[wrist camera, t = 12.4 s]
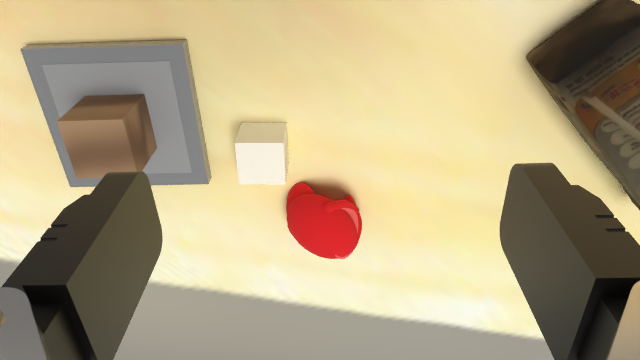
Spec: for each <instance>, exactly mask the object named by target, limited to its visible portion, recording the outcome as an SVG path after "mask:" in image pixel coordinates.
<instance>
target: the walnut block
mask: <svg viewBox="0 0 640 360" xmlns="http://www.w3.org/2000/svg"><path fill="white" fill-rule="evenodd" d="M57 124H58V127H59V129H60V132H61V135H62V138H63V141H64V144H65V146H66V149H67V152H68V155H69V158H70V161H71V163H72V166H73V169H74V172H75V175H76V178H103V177H104V176H105V174H107V173H108V172H139V171H143V169H144V167H145V166H146V164H147V163H148V161H149V160H150V158H151V156H152V155H153V153H154V152H155V150H156V149H157V144H156V140H155V136H154V132H153V128H152V124H151V119H150V115H149V111H148V107H147V103H146V99H145V95H144V94H129V95H96V96H84V97H83V98H82V99H81V100H80V101H79V102H78V103H77V104H75V105H74V106H73V107H72V108H71V109H70V110H69V111H68V112H66V113H65V114H64V115H63V116H62V117H61V118H60V119H59V120H58V121H57Z"/></svg>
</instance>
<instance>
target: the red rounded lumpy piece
mask: <svg viewBox="0 0 640 360" xmlns="http://www.w3.org/2000/svg"><path fill="white" fill-rule="evenodd" d="M345 199H346V200H336V201H333V200H332V199H330V198H327V197H325V196H322V195H318V194H315V193H314V191H313V190H312V189H311V188H310V187H309V186H308V185H307V184H304V183H298V184H296V185H294V186H293V187H292V189H291V190H290V192H289V194H288V198H287V204H286V211H287V223H288V228H289V231H290V233H291V234H292V235H293V236H294V238H295V239H296V240H297V241H298V243H299V244H300V245H301V246H303V247H304V248H305V249H306V250H308V251H309V252H311V253H313V254H315V255H317V256H320V257H324V258H330V259H337V258H339V259H345V258H347V257H348V256H349V255H350V254H351V253H352V252H353V250H354V249H355V247H356V246H357V244H358V241H359V238H360V235H361V230H362V220H361V216H360V213H359V209H358V208H357V206H356V204H355V202H354V200H353V197H352V196H349V195H348V196H346V198H345Z"/></svg>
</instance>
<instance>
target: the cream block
mask: <svg viewBox="0 0 640 360" xmlns="http://www.w3.org/2000/svg"><path fill="white" fill-rule="evenodd" d="M235 151H236V160H237V169H238V178H239V184H286V178H287V171H288V163H289V158H288V136H287V123H282V122H242V123H241V126H240V129H239V132H238V135H237V138H236V140H235Z"/></svg>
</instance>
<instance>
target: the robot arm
mask: <svg viewBox="0 0 640 360" xmlns="http://www.w3.org/2000/svg"><path fill="white" fill-rule="evenodd" d="M500 240H501V245H502V248H503V251H504V253H505V255H506V257H507V259H508V262H509V264H510V266H511V268H512V270H513V272H514V274H515V277H516V279H517V281H518V283H519V285H520V287H521V289H522V291H523V294H524V296H525V298H526V300H527V302H528V304H529V306H530V308H531V311H532V313H533V315H534V317H535V319H536V321H537V323H538V326H539V328H540V330H541V332H542V334H543V336H544V338H545V340H546V343H547V345H548V347H549V349H550V351H551V353H552V355H553V357H554V359H555V360H640V245H639V244H638V243H637V242H636V240H635V239H634V238H633V237H632V236H631V235H630V233H629V232H625V227H624V226H623V225H622V224H621V223H620V222H619V220H618V219H617V218H614V214H613V213H612V212H611V211H610V210H609V209H608V207H607V206H606V205H605V204H604V203H603V201H602V200H601V199H600V198H598V197H597V196H595V195H593V194H592V193H590V192H589V191H587V190H585V189H584V188H582V187H581V186H579V185H570V183H569V182H568V181H567V180H566V178H565V177H564V176H563V175H562V173H561V172H560V171H559V170H558V168H557V167H556V166H555V165H554V164H553V163H526V164H515V165H514V166H513V167H512V169H511V172H510V176H509V181H508V186H507V191H506V196H505V201H504V206H503V211H502V216H501V221H500ZM161 248H162V229H161V224H160V220H159V217H158V213H157V209H156V205H155V201H154V197H153V193H152V190H151V186H150V182H149V179H148V177H147V175H146V174H145V173H144V172H142V171H139V172H108V173H107V174H105V176H104V177H103V178H102V179H101V181H100V182H99V183H98V185H97V186H96V187H95V189H94V190H93V191H92V193H91V194H90V195H83V196H82V197H80V198H79V199H77V200H76V201H75V202H73V203H72V204H70V205H69V206H67V207H66V208H64V209H63V211H62V212H61V213H60V214H59V216H58V217H57V218H56V219H55V221H54V222H53V223H52V224H51V228H48V229H47V231H46V232H45V233H44V234H43V236H42V237H41V241H39V242H37V243H36V244H35V246H34V247H33V248H32V249H31V251H30V252H29V253H28V254H27V256H26V257H25V258H24V259H23V261H22V262H21V263H20V264H19V266H18V267H17V268H16V270H15V271H14V272H13V273H12V275H11V276H10V277H9V278H8V279H7V281H6V282H5V283H4V284H3V286H2V287H0V360H113V359H114V356H115V354H116V352H117V349H118V347H119V345H120V343H121V340H122V338H123V336H124V334H125V332H126V329H127V327H128V325H129V323H130V320H131V318H132V316H133V314H134V311H135V309H136V307H137V305H138V303H139V300H140V298H141V296H142V294H143V291H144V289H145V287H146V285H147V282H148V280H149V278H150V276H151V273H152V271H153V269H154V267H155V264H156V262H157V260H158V258H159V255H160V252H161Z"/></svg>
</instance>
